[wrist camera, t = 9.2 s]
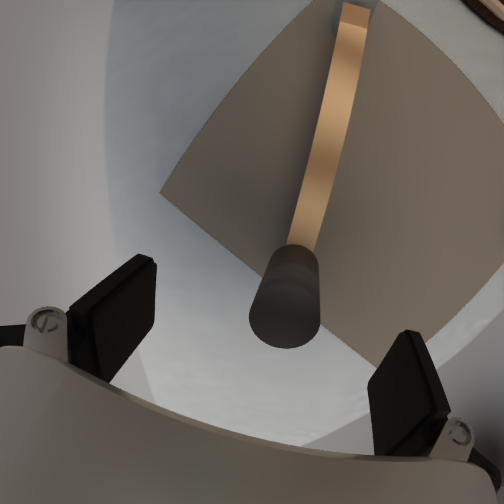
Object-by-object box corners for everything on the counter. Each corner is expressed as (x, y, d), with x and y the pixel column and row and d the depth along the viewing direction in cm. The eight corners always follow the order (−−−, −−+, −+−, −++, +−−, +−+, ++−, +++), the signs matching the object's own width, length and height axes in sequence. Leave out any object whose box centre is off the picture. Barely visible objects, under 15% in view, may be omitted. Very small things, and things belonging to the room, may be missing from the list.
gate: (327, 38, 17) (336, -55, 6) (363, 49, 17) (406, -35, 5) (272, 262, 25) (236, 360, 13) (306, 272, 24) (297, 377, 13)
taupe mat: (161, 192, 25) (159, 192, 25) (340, -22, 15) (340, -24, 15) (384, 372, 27) (385, 374, 27) (543, 200, 17) (546, 200, 17)
